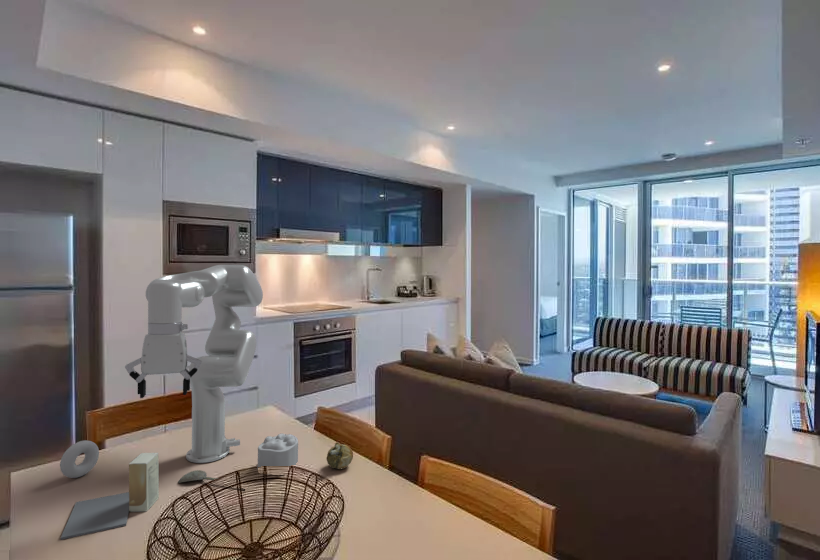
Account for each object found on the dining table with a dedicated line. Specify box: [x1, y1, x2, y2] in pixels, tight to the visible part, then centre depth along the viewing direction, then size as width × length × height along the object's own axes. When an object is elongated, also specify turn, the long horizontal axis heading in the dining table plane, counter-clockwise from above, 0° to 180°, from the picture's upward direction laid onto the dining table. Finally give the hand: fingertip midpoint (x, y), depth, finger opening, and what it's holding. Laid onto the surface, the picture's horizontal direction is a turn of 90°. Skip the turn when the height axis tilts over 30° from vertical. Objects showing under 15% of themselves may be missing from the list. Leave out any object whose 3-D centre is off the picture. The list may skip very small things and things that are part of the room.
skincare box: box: [128, 452, 160, 513], centre depth 108 cm, size 6×4×12 cm
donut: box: [59, 439, 100, 479], centre depth 122 cm, size 10×4×10 cm, turn 161°
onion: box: [326, 441, 354, 470], centre depth 131 cm, size 8×8×8 cm
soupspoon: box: [177, 469, 218, 484], centre depth 120 cm, size 22×3×7 cm
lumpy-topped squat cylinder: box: [257, 433, 299, 468], centre depth 132 cm, size 10×13×9 cm
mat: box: [60, 491, 130, 541], centre depth 104 cm, size 12×16×1 cm
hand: (164, 395), depth 112 cm, fingers open, 9 cm apart
